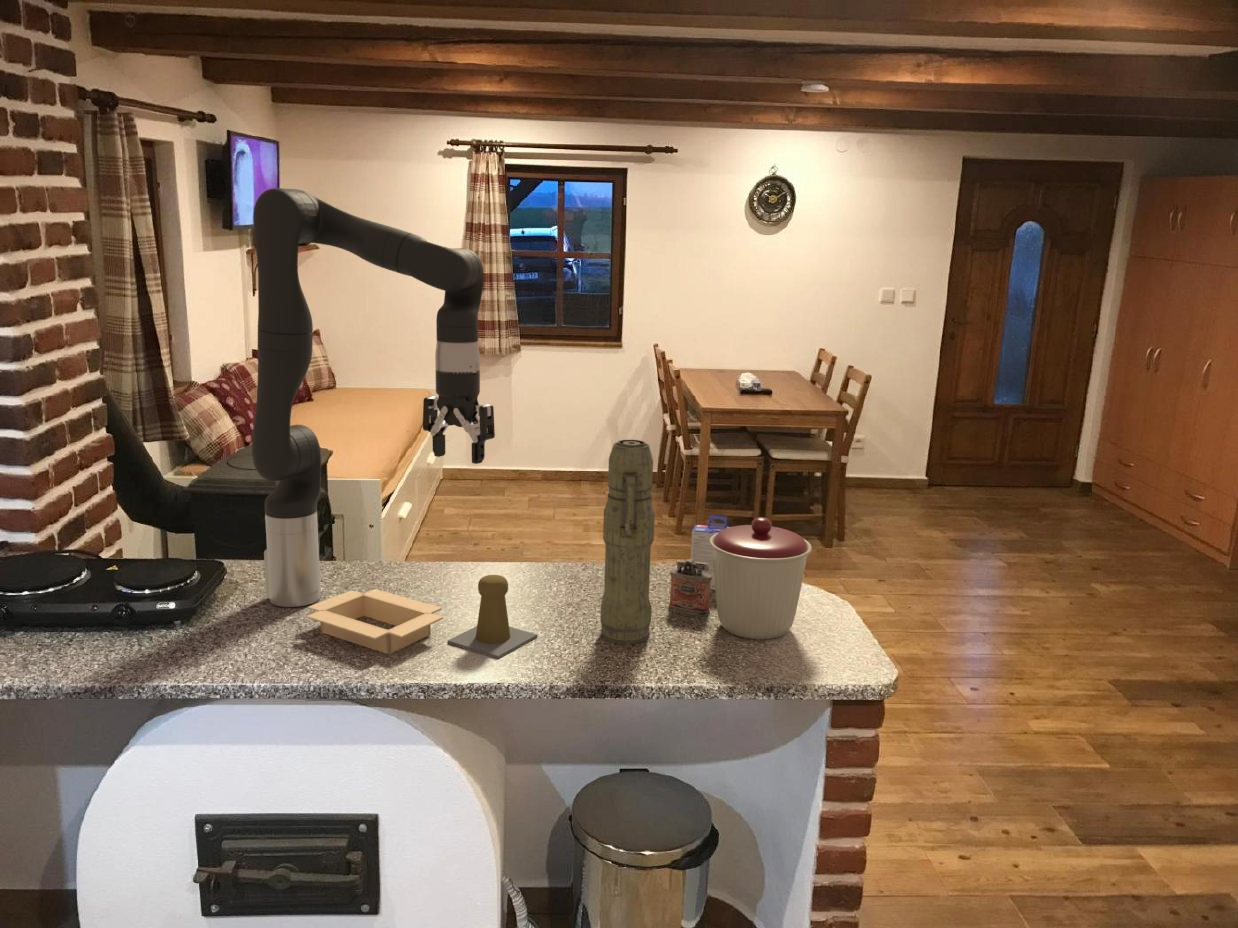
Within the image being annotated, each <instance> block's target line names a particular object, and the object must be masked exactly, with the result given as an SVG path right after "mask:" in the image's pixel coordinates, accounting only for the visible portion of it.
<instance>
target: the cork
mask: <svg viewBox="0 0 1238 928" xmlns="http://www.w3.org/2000/svg"><path fill="white" fill-rule="evenodd" d="M477 583H478V584H477V591H478V594H479V595H480V601H479V611H478V617H477V625H476V626H477V631H476V639H477V640H478V641H480V642H482V643H487V644H498V643H503V642H506V641H507V640H509V639H510V629H509V627H510V624H509V623H510V622H509V617H508V616H509V615H508V608H507V599H506V595H507V593H508V591H509V583H508V580H507V578H506V577H505V576H503V575H499V574H488V575H484V576H483V577H481V578H480V579H479V581H478V582H477Z"/></svg>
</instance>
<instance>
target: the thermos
mask: <svg viewBox="0 0 1238 928" xmlns="http://www.w3.org/2000/svg"><path fill="white" fill-rule="evenodd" d="M607 472H608V476H607V486H608V493H607V501H606V504H605V507H604V509H603V522H602V523H603V524H602V525H603V526H602V528H603V529H602V533H603V534H602V539H603V542H604V544H605V553H604V554H605V555H604V558H605V559H604V585H603V586H604V591H603V595H602V598H601V602H600V618H599V619H600V623H601V629H600V636H601V637H602V639H603V640H605V641H606V642H608V643H612V644H617V645H636V644H641V643H644V642H646V641H647V640H648V639H649V638H650V625H651V622H652V603H651V601H650V597H649V596H650V574H651V572H650V571H651V547H652V545H653V542H654V540H655V517H656V512H655V508H654V506H653V495H652V488H653V478H654V477H653V476H654V475H653V474H654V459H653V455H652V450H651V447H650V444H649V443H646V442H645V441H643V440H639V439H621V440H618V441H616V442H615V443H614V444H613V446H612V448H611V451H610V453H609V456H608V470H607Z"/></svg>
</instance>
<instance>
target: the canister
mask: <svg viewBox="0 0 1238 928" xmlns="http://www.w3.org/2000/svg"><path fill="white" fill-rule="evenodd" d="M710 545H711V546H712V548H713V557H714V574H715V590H714V591H715V601H716V612H717V616H718V620H719V623H720V625H721V626H722V627H723V629H725V631H728V632H729V633H731V634H732V635H735V636H738V637H740V638H745V639H751V640H752V639H753V640H771V639H775V638H779V637H781V636H784V635H785V634H786V633H787V632H789V631H790V629H791V628H792V626H793V623H794V621H795V618H796V614H797V609H798V605H799V600H800V594H801V589H802V584H803V580H804V575H805V574H804V573H805V570H806V564H807V563H806V562H807V558H808V556H809V555H810V554H811V552H812V549H813V548H812V547H813V546H812V544H811V543H810V542H809V541H807V540H806V539H805V538H804V537H803V536H801V535H799V534H798V533H795V532H794V531H791V530H789V529H785V528H781V527H777V526H772V522H771V520H770V519H768V518H767V517H762V516H760V517H756V518H753V520H752V521H751V524H744V525H736V526H735V525H734V526H730V528H726V529H724V530H722V531H720V532H718V533H716V534H714V535H713V536H712V537H711V538H710Z"/></svg>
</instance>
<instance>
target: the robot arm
mask: <svg viewBox="0 0 1238 928" xmlns="http://www.w3.org/2000/svg"><path fill="white" fill-rule="evenodd" d="M253 231H254V239H255V240H254V241H255V250H256V251H255V252H256V261H257V291H258V292H257V293H258V295H257V297H258V298H257V299H258V301H257V305H258V306H257V308H258V309H257V310H258V314H257V315H258V316H257V318H258V319H257V386H256V387H257V388H256V389H257V390H256V405H255V406H256V407H255V414H254V423H253V431H252V439H251V440H252V441H251V456H252V463H253V466H254V469H255V471H256V472H257V473H258V475H259V476H260V477H261V478H263V479H264V480H266V481H269V482H278V481H279V482H278V484H277V485H276V487H275V488H274V489H273V491H271V493H269V494H268V495H267V496H266V498H265V499H264V514H265V515H264V521H265V533H266V535H265V536H266V549H265V550H264V552H263V558H264V559H263V560H264V562H263V563H264V575H265V576H264V579H265V594H266V595H265V596H266V599H268V600H269V603H271V604H272V605H273V606H277V607H282V608H283V607H284V608H295V607H296V608H298V607H304V606H308V605H309V606H310V605H311V604H312V605H313V604H314V603H316V602H318V601H319V600H320V599H321V573H320V572H321V571H320V570H321V569H320V549H319V530H318V529H319V525H318V501H319V499H320V497H321V493H322V492H321V491H322V490H321V488H322V485H321V484H322V454H321V446H320V442H319V439H318V437H317V436H316V434H315V433H314V431H313V430H312V429H311V428H310V427H308V426H306V425H303V424H292V425H291V417H292V416H291V415H292V409H293V404H294V401H295V398H296V396H297V393H298V391H299V390H300V387H301V385H302V383H303V381H304V379H305V377H306V375H307V373H308V370H309V367H310V365H311V362H312V357H313V339H314V338H313V336H314V335H313V334H314V333H313V331H314V329H313V328H314V327H313V324H314V323H313V319H312V314H311V310H310V308H309V305H308V301H307V299H306V297H305V294H304V291H303V288H302V287H301V283H300V279H299V272H298V271H299V268H298V267H299V266H298V265H299V264H298V263H299V262H298V261H299V244H304V243H309V244H318V245H326V246H331V247H335V248H337V249H342V250H344V251H346V252H349V253H351V254H353V255H354V256H357V257H359V258H360V259H362V260H364V261H365V262H367V263H370V264H372V265H374V266H377V267H380V268H382V269H385V270H388V271H392V272H394V273H397V274H401V275H404V276H408V277H412V278H414V279H416V280H417V281H419V282H421V283H424V284H425V285H428V286H430V287H433V288H435V289H438V290H441V291H444V299H443V304H442V305H441V307H440V308H438V310H437V314H436V321H435V322H436V325H435V326H436V327H435V328H436V329H435V330H436V345H435V346H436V347H435V357H434V358H435V359H434V361H435V362H434V364H435V393H436V394H437V395H438V396H436V395H434V396H432V395H431V396H428V397H424V398H423V402H422V404H423V409H422V410H423V411H422V429H423V431H424V432H429V433H430V435H431V437H432V440H431V441H432V453H433V456H434V457H438V458H440V457H444V456H445V455H446V434H445V432H446V430H447V429H448V428H449V426H455V427H458V428H463V430H464V431H465V433H468V435H469V437H470V439H471V440H472V442H471V463H472V464H474V465H478V464H481V463H483V461H484V460H485V458H486V457H485V456H486V454H485V450H486V449H485V443H486V442H487V440H488V441H489V440H492V439H495V437H496V432H495V431H496V430H495V412H494V409H495V407H494V406H493V404H492V403H489V404H480V403H479V401H478V397H479V395H480V392H481V391H480V390H481V386H480V385H481V380H480V379H481V366H480V365H481V361H480V360H481V359H480V356H481V354H480V348H479V347H480V346H479V319H478V318H479V317H478V316H479V311H480V306H481V301H482V295H483V291H484V289H483V288H484V280H485V277H484V274H485V273H484V266H483V263H482V261H481V258H480V257H479V255H478V254H477V253H476V252H475V251H473V250H472V249H469V248H464V247H463V248H460V247H459V248H457V247H456V248H450V247H446V246H442V245H439V244H436V243H433V242H429V241H428V240H427V239H426V238H424V237H422V236H420V235H417V234H414V233H413V232H409V231H405V230H402V229H399V228H396V227H393V226H391V225H390V226H389V225H386V224H382V223H380V222H379V223H378V222H375V221H371V220H368V219H365V218H362V217H359V216H356V215H354V214H351V213H348V212H346V211H345V210H344V211H343V210H342V209H339V208H337V207H335V206H333V205H332V204H329V203H328V202H325V201H324V200H322V199H320V198H318V197H317V196H315V195H312V194H310V193H309V192H306V191H304V190H301V189H297V188H295V189H294V188H281V187H275V188H269V189H266V190H264V191H263V192H262V193H261V194H260V195H259V196H258V198H257V200H256V202H255V205H254V208H253ZM438 411H439V413H438Z"/></svg>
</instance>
